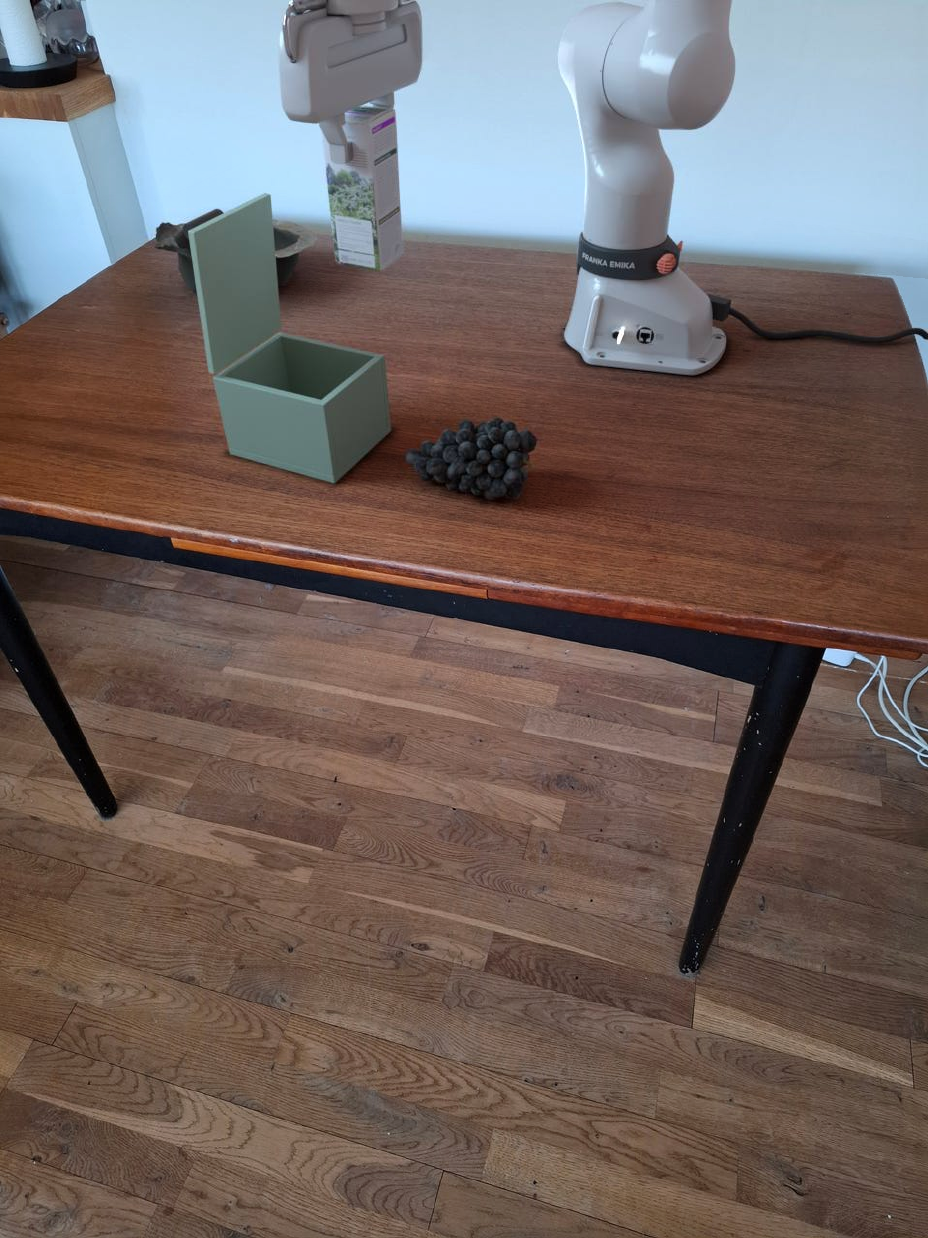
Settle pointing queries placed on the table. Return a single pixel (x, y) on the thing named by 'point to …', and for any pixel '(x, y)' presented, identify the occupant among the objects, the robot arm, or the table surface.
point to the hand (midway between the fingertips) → (361, 152)
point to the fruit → (477, 458)
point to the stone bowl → (285, 239)
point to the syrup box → (366, 191)
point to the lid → (235, 279)
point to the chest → (304, 405)
